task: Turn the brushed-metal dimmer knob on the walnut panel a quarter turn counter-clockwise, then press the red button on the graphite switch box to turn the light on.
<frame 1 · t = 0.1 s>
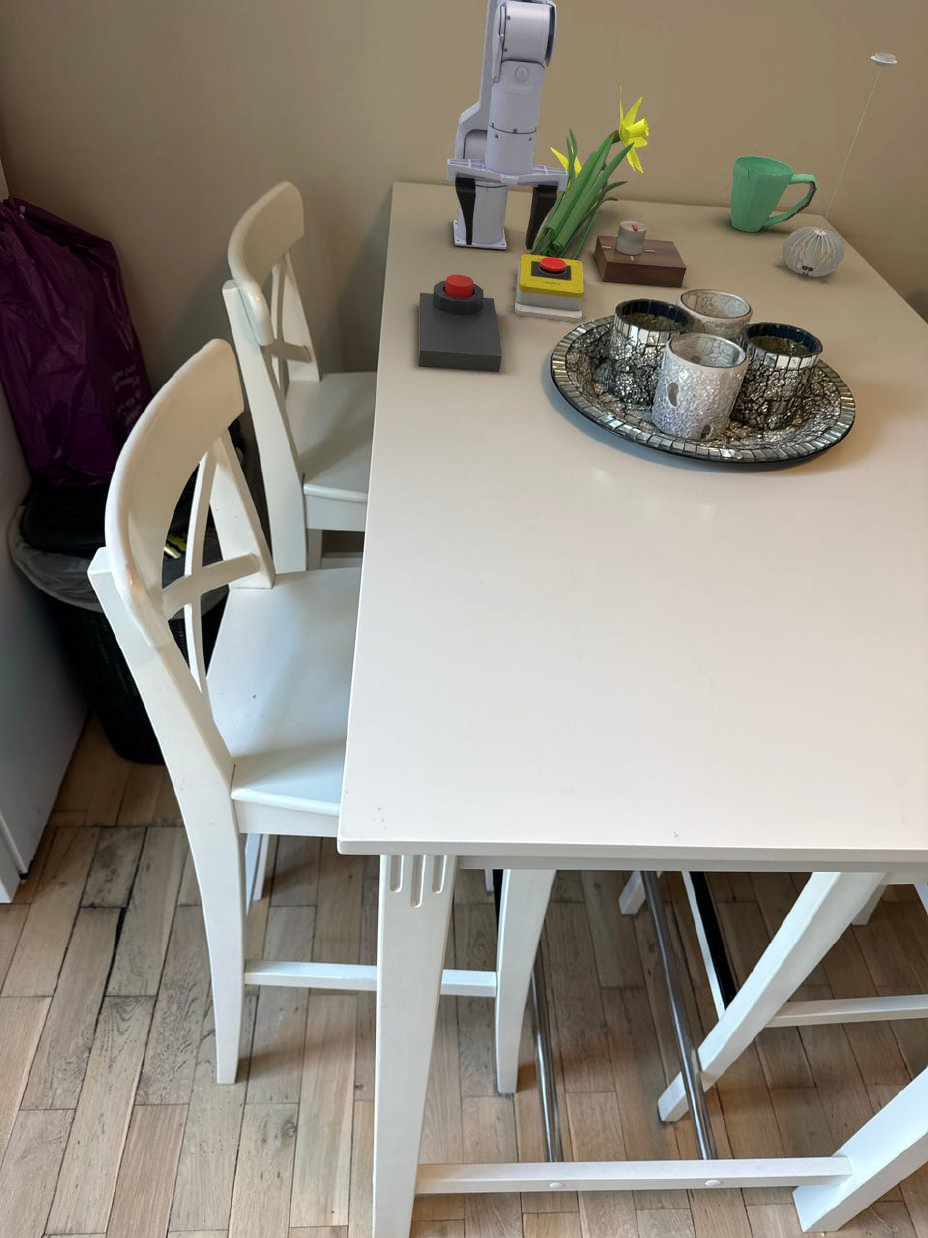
hand: (498, 244, 112), 10 cm above the table, tool pointing down, fingers open, 7 cm apart
mug: (758, 229, 154), on the table
switch box: (457, 338, 114), on the table
dimmer knob: (631, 236, 132), point 5 cm above the table, hinge at 0.0°
daffodil flowers: (580, 233, 145), on the table
pendant light: (805, 271, 142), on the table
light button: (459, 286, 115), point 4 cm above the table, slide at 0.1 cm
emergency button: (547, 296, 126), on the table
dimmer panel: (636, 270, 135), on the table
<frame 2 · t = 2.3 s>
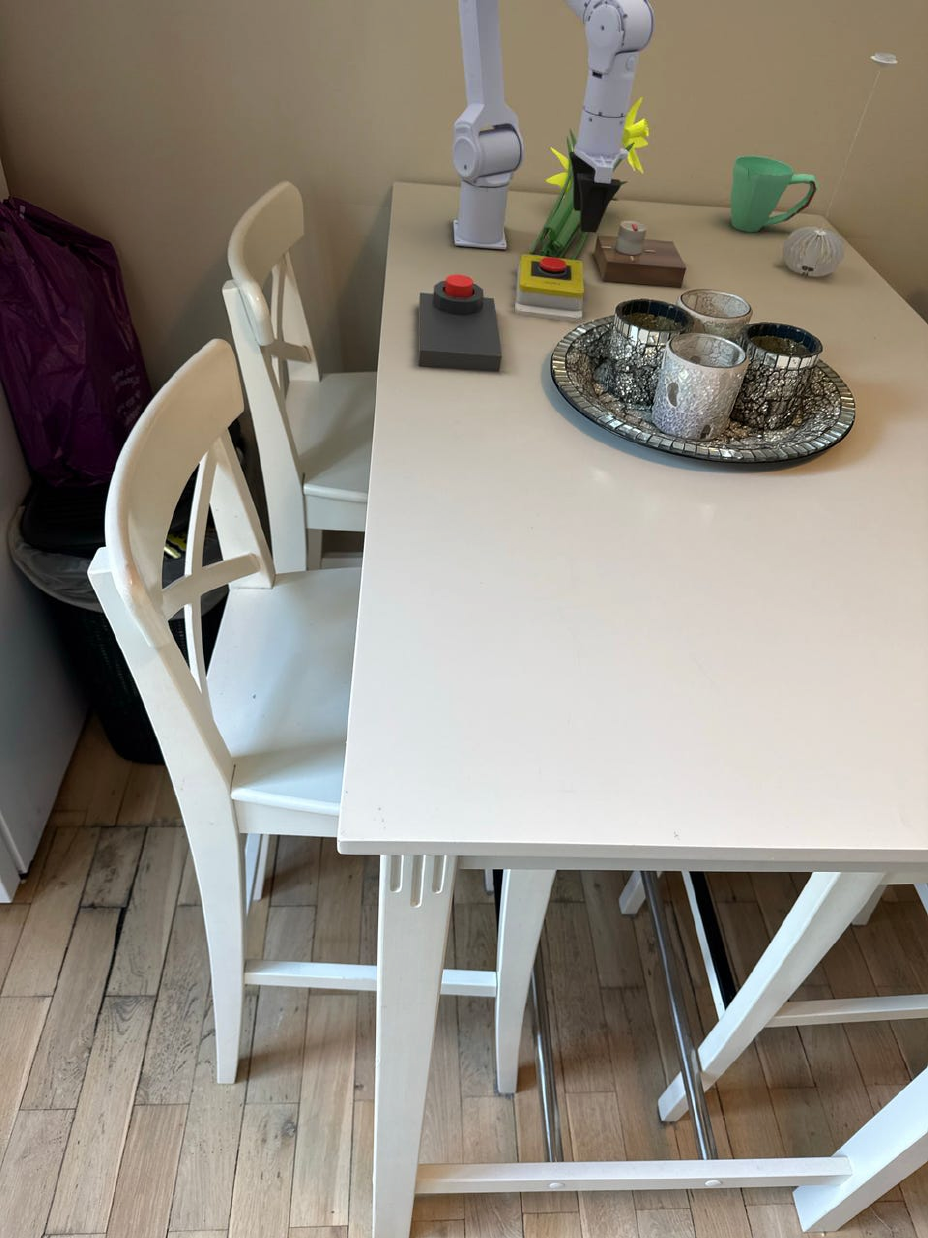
hand: (584, 220, 122), 10 cm above the table, tool pointing down, fingers open, 7 cm apart
nothing on the table moved.
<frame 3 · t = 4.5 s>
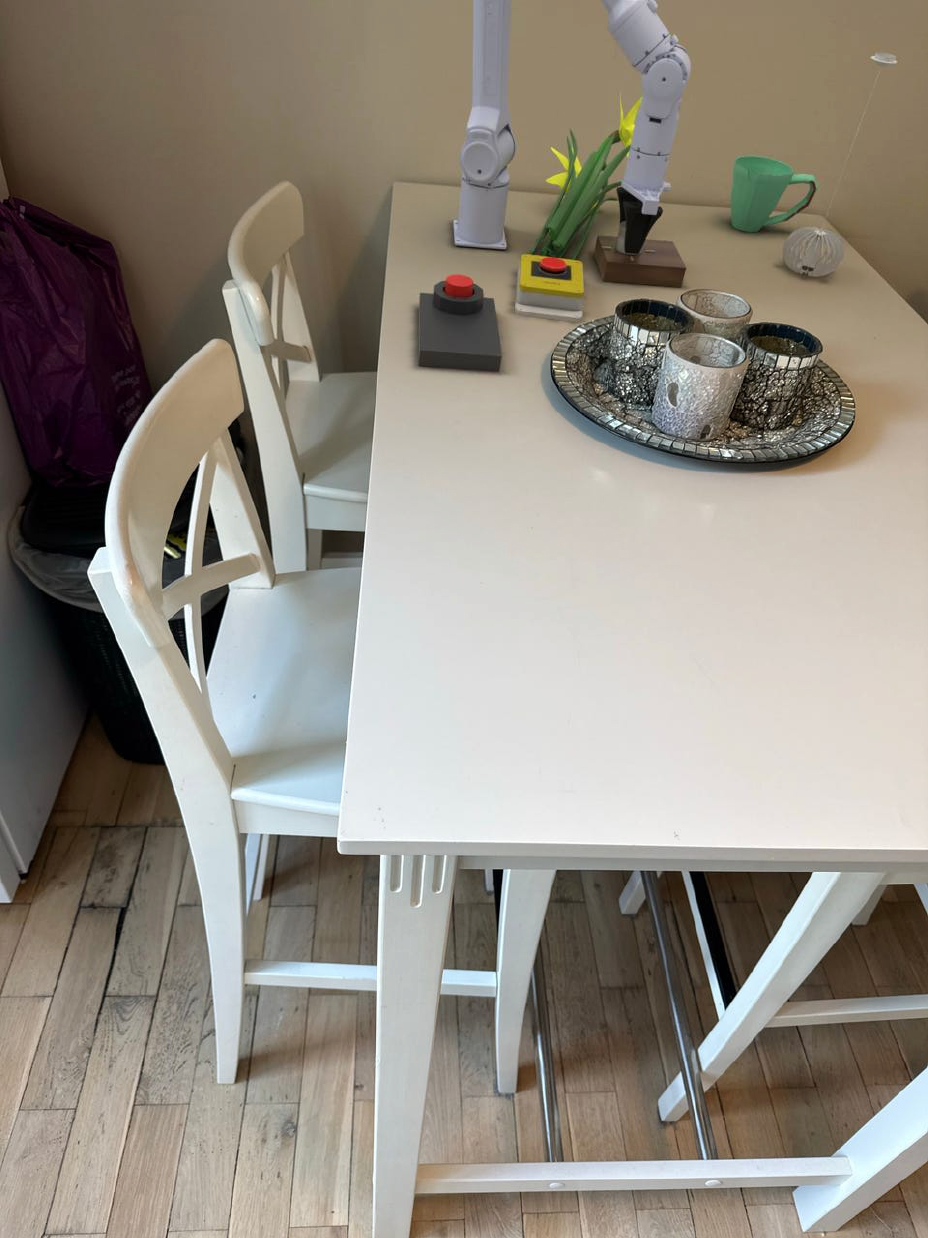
hand: (628, 246, 133), 4 cm above the table, tool pointing down, fingers closed on dimmer knob, 4 cm apart
dimmer knob: (631, 236, 132), point 5 cm above the table, hinge at 0.0°, touching gripper
everything else where it was.
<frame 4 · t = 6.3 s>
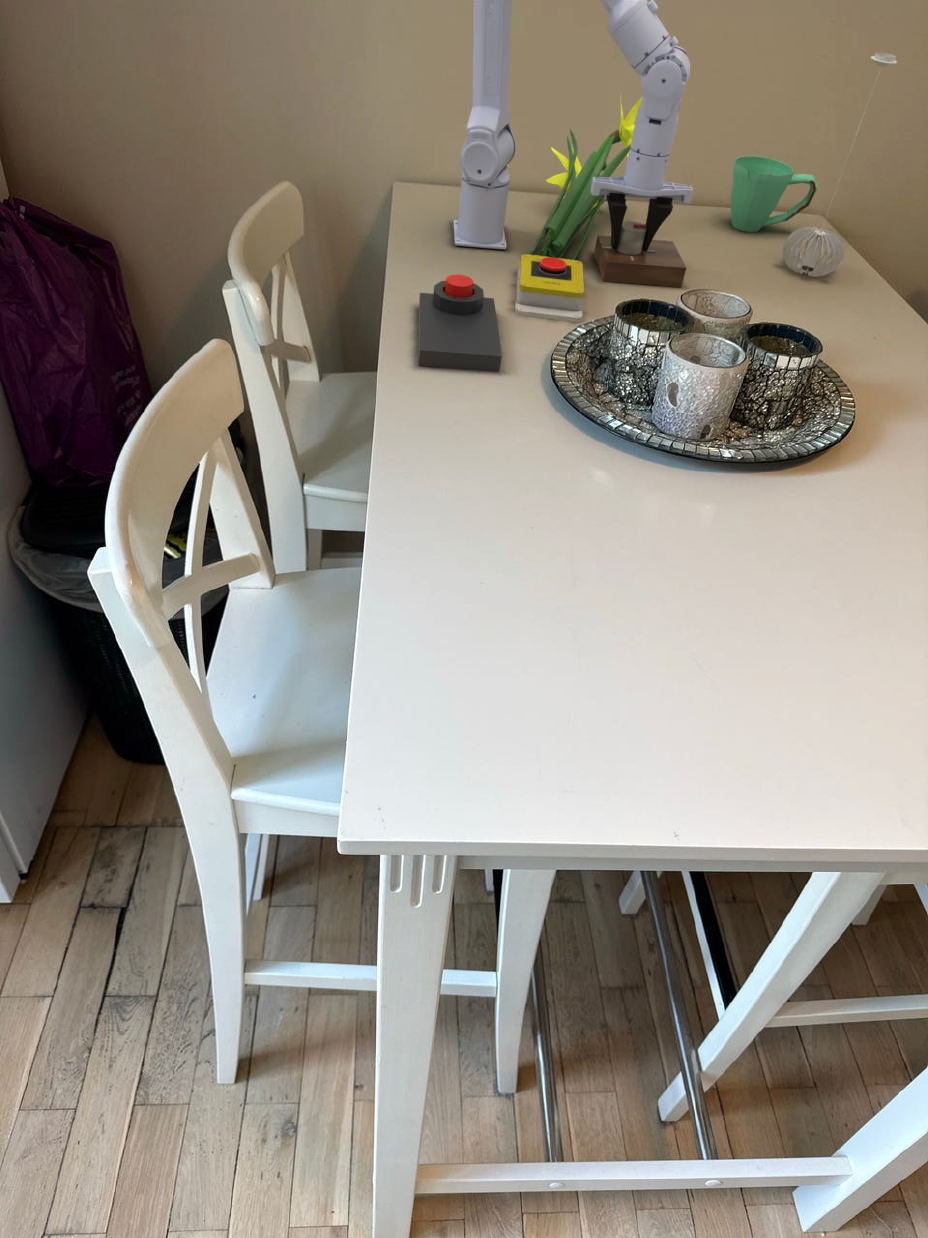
hand: (628, 247, 133), 3 cm above the table, tool pointing down, fingers closed on dimmer knob, 4 cm apart
dimmer knob: (631, 236, 132), point 5 cm above the table, hinge at 90.0°, touching gripper
everything else where it was.
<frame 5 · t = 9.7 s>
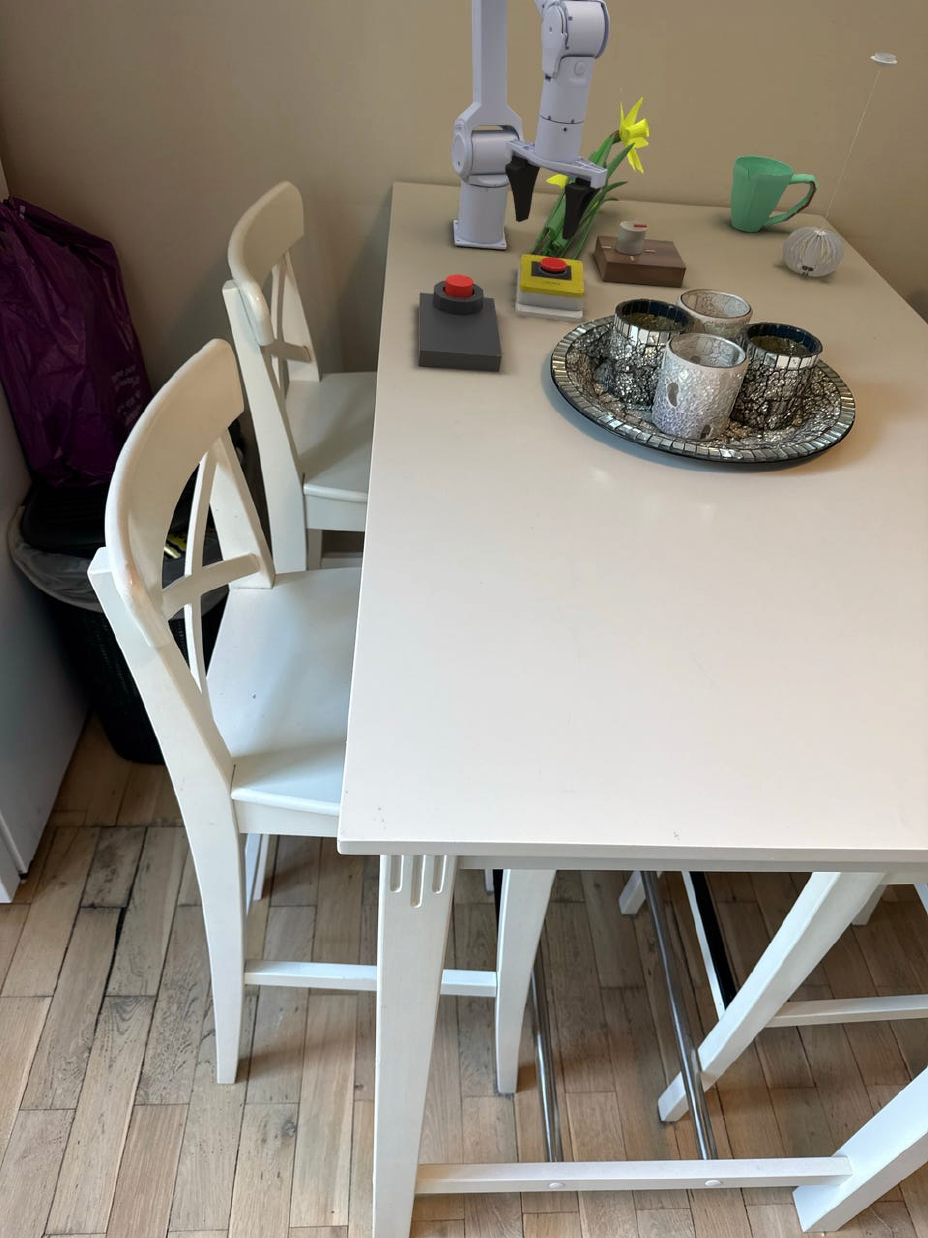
hand: (544, 228, 119), 9 cm above the table, tool pointing down, fingers open, 7 cm apart
dimmer knob: (631, 236, 132), point 5 cm above the table, hinge at 89.8°
everything else where it was.
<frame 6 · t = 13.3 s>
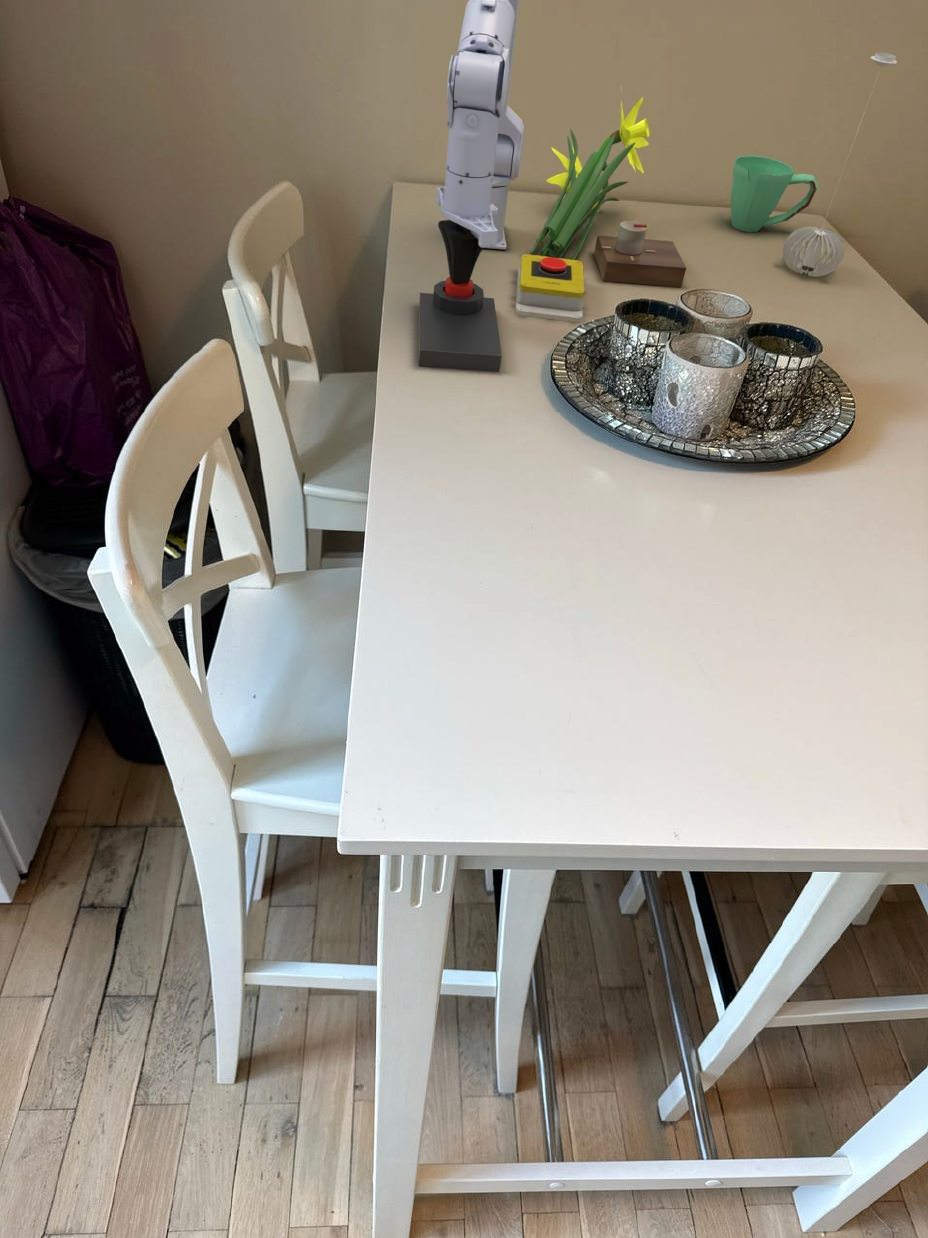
hand: (459, 281, 114), 5 cm above the table, tool pointing down, fingers closed, pressing on light button
light button: (459, 287, 115), point 4 cm above the table, slide at -0.1 cm, touching gripper
everything else where it was.
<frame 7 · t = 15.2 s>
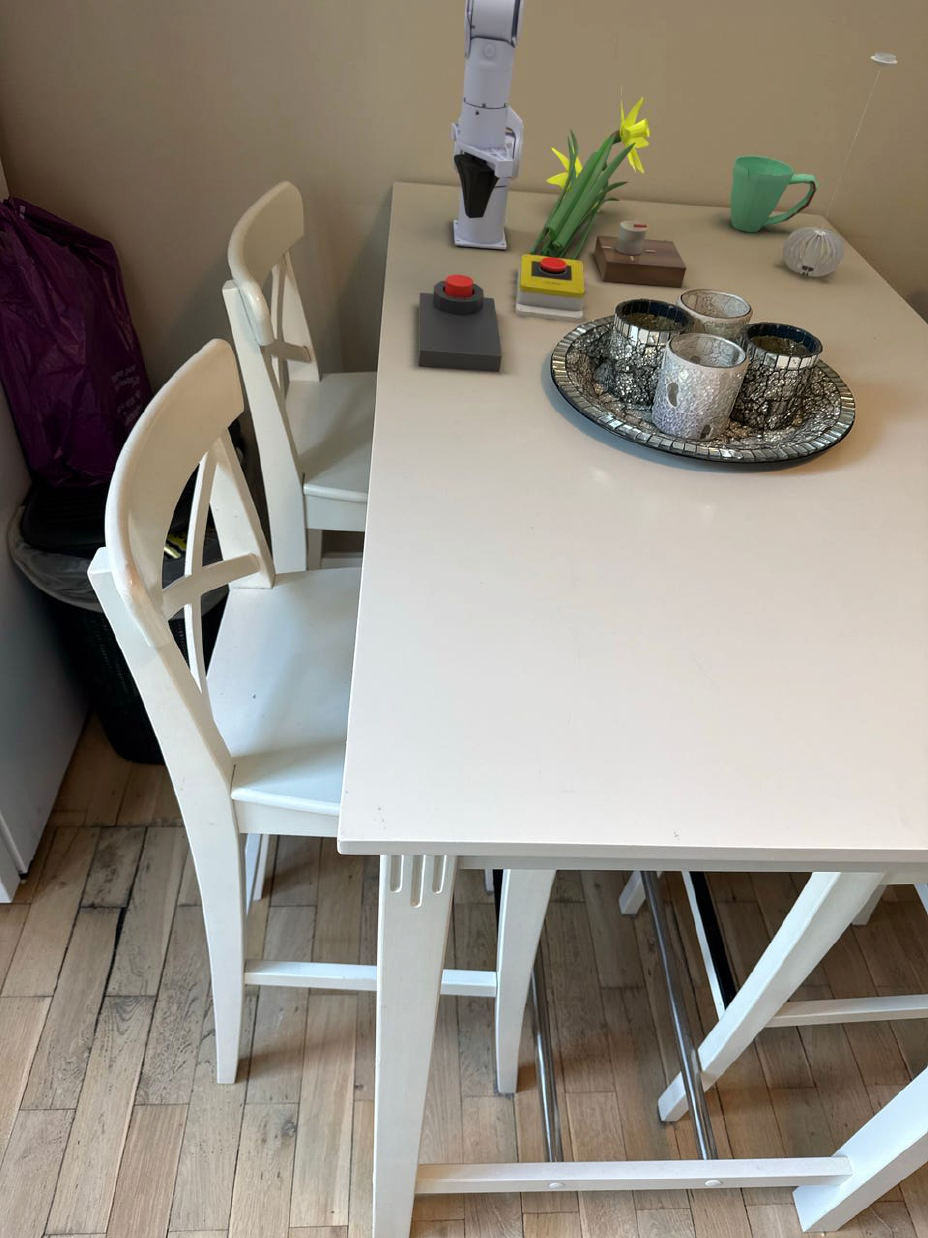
hand: (474, 215, 117), 10 cm above the table, tool pointing down, fingers closed
light button: (459, 286, 115), point 4 cm above the table, slide at 0.1 cm
everything else where it was.
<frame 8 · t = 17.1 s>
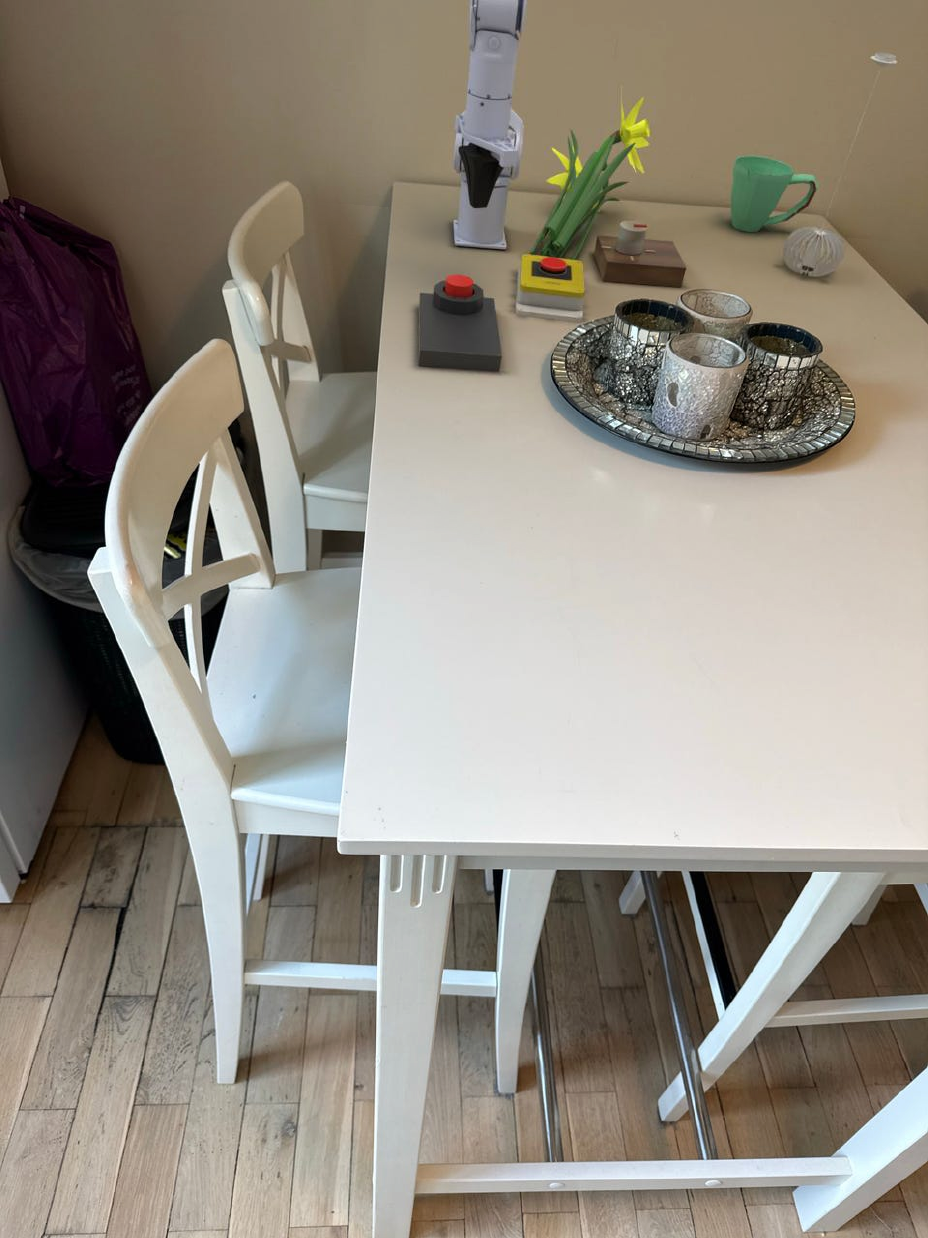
hand: (478, 205, 120), 10 cm above the table, tool pointing down, fingers closed
nothing on the table moved.
at the end: dimmer knob at +90° (first picture: +0°); light button pushed in 1.2 cm at the most during the clip, back to where it started at the end; light button slide at 0.1 cm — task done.
